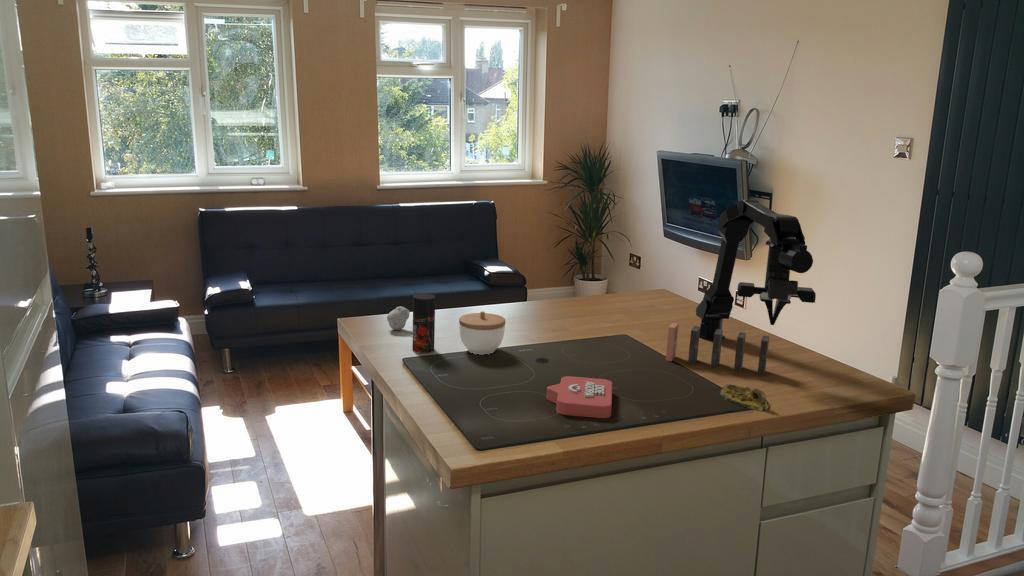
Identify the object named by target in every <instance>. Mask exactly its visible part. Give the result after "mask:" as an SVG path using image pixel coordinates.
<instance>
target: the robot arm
mask: <svg viewBox="0 0 1024 576" xmlns="http://www.w3.org/2000/svg"><path fill="white" fill-rule="evenodd" d="M717 223H718V226H717V227H718V228H717V229H718V233H719V235H720V238H721V243H720V247H719V252H718V257H717V261H716V266H715V271H714V276H713V280H712V284H711V285H710V287H708V289H706V291H705V292H704V294H703V298H702V300H701V301H700V302H699V304H698V305H697V307H696V308H695V315H696V317H698V318H700V319H701V322H700V336H699V338H701V339H704V340H705V339H706V340H709V341H712V342H713V339H714V333H715V331H716V330H717V329H721V330H723V329H722V328H723V321H724V320H725V319H727V320H729V319H730V315H731V312H732V310H733V304H734V301H735V299H734V298H735V297H734V296H733V295H732V293H731V291H730V288H731V287H730V286H731V282H732V278H733V273H734V267H735V264H736V259H737V255H738V251H739V250H738V249H739V245H740V243H742V241H743V240H744V239H745V238H746V237H747V235H748V233H749V230H750V227H751V226H753V224H755V223H757V224H758V225H760V226H762V227H763V229H764V230H763V232H764V233H765V235H766V236H768V238H769V239H768V240H766V241H765V246H768V251H767V261H766V262H767V263H766V269H765V270H766V272H765V277H764V278H765V280H764V287H762V286H755V283H754V282H743V281H740V282H739V283H738V284H737V289H736V290H737V291H736V295H737V297H741V298H752V297H753V296H754V295H759V299H760V300H759V301H760V302H764V304H765V307H766V310H767V315H768V318H769V325H771V326H774V325H775V324H776V321H777V319H778V318H779V315H780V314H781V311H782V310H783V309H784V307H785V306H786V305H791V302H792V301H791V299H792V298H798V299H799V301H801V302H802V303H809V304H810V303H811V304H813V303H814V304H815V303H816V297H817V294H816V292H815V290H814V289H813V288H812V287H805V286H804V287H803V286H799V281H798V280H792V279H791V280H790V276H791V275H790V273H791V271H792V272H794V273H798V274H805V273H807V272H808V271H809V270H810V269H811V268H812V266H813V264H814V259H813V255H812V254H811V252H810V251H809V250H808V245H806V241H805V240H806V237H805V236H804V233H803V230H802V227H801V223H800V221H799V219H798V218H797V217H796V216H793V215H790V214H782V213H777V212H776V211H774V210H772V209H770V208H768V207H767V206H766V205H764V204H761V203H760V201H759V200H756V199H740V200H739V201H737V203H736V204H734V205H732V206H729V208H726V209H725V210H724V211H723V212H722V213H721V214H720V216H719V217H718V222H717ZM773 300H776V301H775V305H774V304H773ZM773 305H774V306H773ZM773 307H774V309H773ZM722 339H726V335H723V334H722Z"/></svg>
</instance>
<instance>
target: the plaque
mask: <svg viewBox="0 0 1024 576" xmlns="http://www.w3.org/2000/svg"><path fill="white" fill-rule="evenodd" d="M546 400H547V401H549V402H552V403H554V404H555V405H556V407H555V411H556V413H558V414H559V415H563V416H573V417H586V418H597V419H607V418H610V417H611V416H612V407H613V405H612V403H613V402H612V401H613V381H611V380H610V379H604V378H594V377H593V378H592V377H582V376H571V375H570V376H569V375H568V376H567V375H566V376H562V377H561V380H560V383H557V384H552V385H549V386H547V387H546Z"/></svg>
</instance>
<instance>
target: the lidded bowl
mask: <svg viewBox="0 0 1024 576" xmlns="http://www.w3.org/2000/svg"><path fill="white" fill-rule="evenodd" d="M506 322H507V321H506V319H505V318H504V317H503V316H501V315H499V314H494V313H487V312H485V311H480V312H474V313H473V312H472V313H467V314H463V315H461V316H460V317H459V318H458V323H459V324H458V325H459V337H460V340H461V343H462V344H463V346H464V347H465V348H466V349H467V350H468V353H471V354H472V353H473V355H477V354H479V355H478V356H485V355H484V354H488V355H491V354H490V353H492V354H493V352H494V353H495V350H497V349H498V348H499V347H500V346H501V344H502V342H503V339H504V336H505V328H506Z"/></svg>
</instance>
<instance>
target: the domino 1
mask: <svg viewBox="0 0 1024 576" xmlns="http://www.w3.org/2000/svg"><path fill="white" fill-rule="evenodd" d="M678 334H679V323H677V322H672V323H671V324H670V325H668V334H667V343H666V354H665V355H666V356H665V362H673V360H674V359H675V358H676V353H677V344H678Z"/></svg>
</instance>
